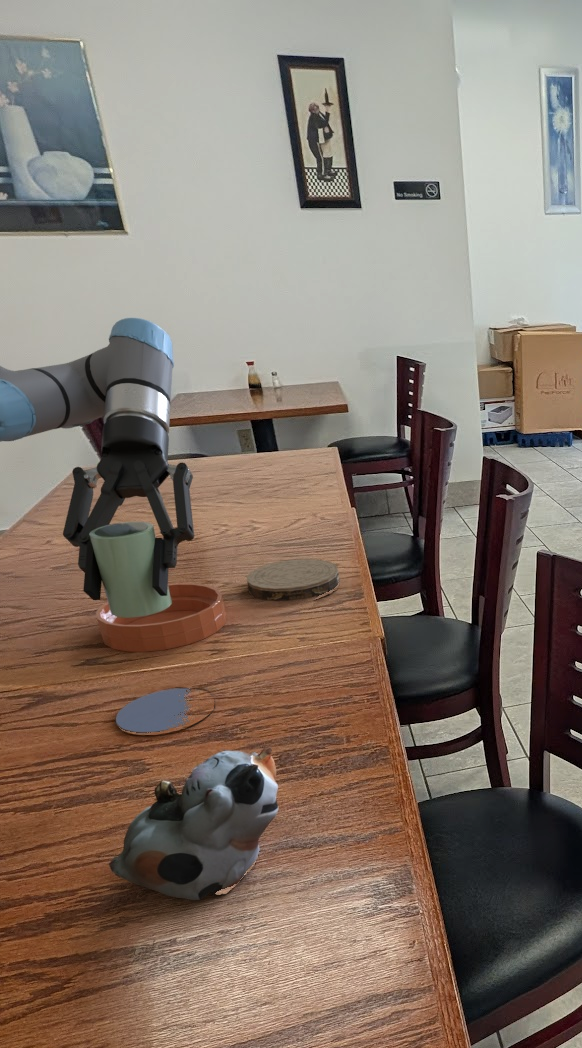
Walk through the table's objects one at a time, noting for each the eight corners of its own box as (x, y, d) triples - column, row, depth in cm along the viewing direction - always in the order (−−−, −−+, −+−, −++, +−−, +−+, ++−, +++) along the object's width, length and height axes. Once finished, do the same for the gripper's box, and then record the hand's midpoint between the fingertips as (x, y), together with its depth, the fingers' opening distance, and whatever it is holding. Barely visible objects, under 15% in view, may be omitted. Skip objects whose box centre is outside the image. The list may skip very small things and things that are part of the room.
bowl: (79, 655, 124) (70, 625, 122) (141, 610, 141) (134, 583, 139) (196, 657, 123) (189, 626, 121) (245, 611, 140) (239, 583, 138)
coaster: (97, 735, 103) (96, 731, 103) (146, 690, 114) (145, 687, 114) (190, 737, 102) (189, 733, 102) (230, 692, 113) (229, 688, 113)
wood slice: (243, 608, 141) (240, 592, 140) (255, 577, 155) (252, 562, 154) (338, 600, 144) (336, 584, 142) (341, 570, 158) (339, 556, 156)
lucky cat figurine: (161, 822, 86) (205, 703, 84) (269, 864, 87) (315, 747, 85) (81, 883, 72) (132, 740, 70) (212, 932, 73) (266, 793, 71)
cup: (99, 617, 99) (76, 537, 95) (129, 596, 106) (109, 520, 101) (155, 618, 99) (134, 538, 95) (182, 596, 105) (164, 520, 101)
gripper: (225, 443, 110) (222, 600, 103) (68, 450, 108) (52, 611, 100) (208, 409, 103) (202, 574, 96) (39, 415, 101) (20, 585, 93)
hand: (126, 593), depth 98 cm, fingers closed on cup, 7 cm apart
